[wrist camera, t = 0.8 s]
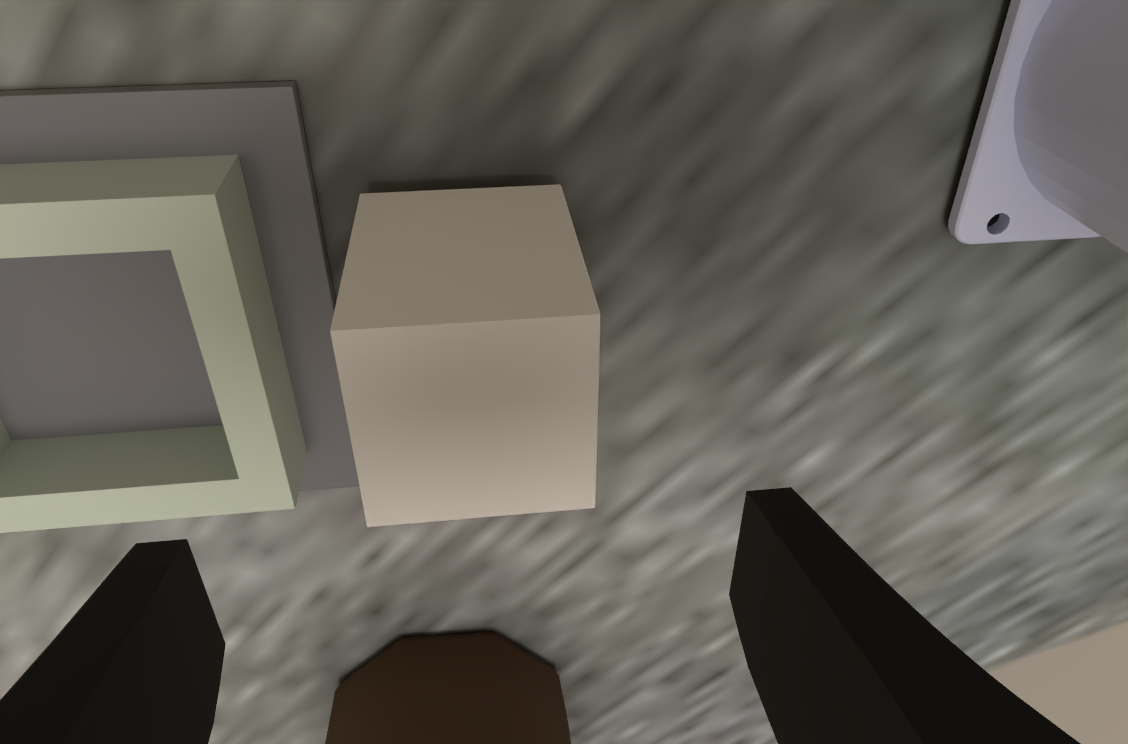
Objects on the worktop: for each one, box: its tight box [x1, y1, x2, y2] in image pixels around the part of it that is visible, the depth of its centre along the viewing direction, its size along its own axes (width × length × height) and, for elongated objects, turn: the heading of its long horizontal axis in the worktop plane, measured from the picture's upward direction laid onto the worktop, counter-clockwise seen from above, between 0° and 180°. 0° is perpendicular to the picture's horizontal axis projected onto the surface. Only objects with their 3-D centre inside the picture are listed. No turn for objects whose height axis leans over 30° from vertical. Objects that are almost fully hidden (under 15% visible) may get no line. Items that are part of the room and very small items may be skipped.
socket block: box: [0, 81, 359, 533], centre depth 17 cm, size 10×10×2 cm
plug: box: [330, 184, 601, 527], centre depth 16 cm, size 4×4×6 cm
